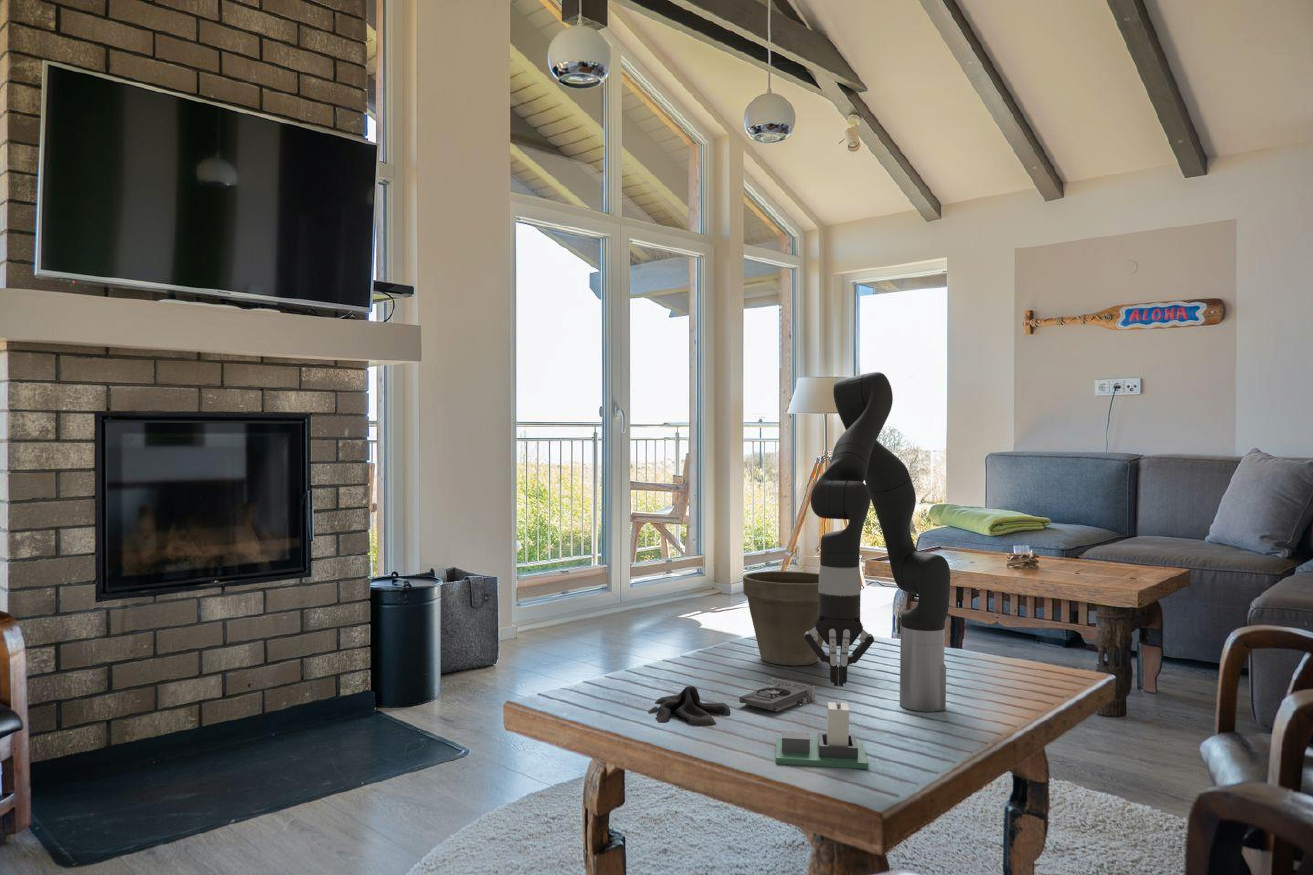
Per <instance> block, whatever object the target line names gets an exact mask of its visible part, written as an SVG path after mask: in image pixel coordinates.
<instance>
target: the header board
mask: <svg viewBox="0 0 1313 875" xmlns="http://www.w3.org/2000/svg"><path fill="white" fill-rule="evenodd" d="M856 738H857V737H856V735H855V734H850V733H849V736H848V746H836V745H827V732H817V739H815V740H813V739H811V737H810V732H808V731H807V732H804V731H788V730H787V731H783V730H782V731H781V738H776V742H775V743H776V744H775V747H776V750H775V764H776V765H792V766H793V765H795V766H808V767H809V766H813V767H814V766H815V767H826V768H827V767H829V768H830V767H831V768H846V769H863V770H864V769H866V770H868V769H869V762H868V758H867V755H866V754H867V753H866V750H865V747H864V742H857V739H856Z"/></svg>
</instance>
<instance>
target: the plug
mask: <svg viewBox="0 0 1313 875" xmlns="http://www.w3.org/2000/svg"><path fill="white" fill-rule="evenodd" d="M826 714H827V715H826V716H827V717H826V719H827V720H826V733H827V745H836V746H848V736H849V734H850V733H849V732H850V730H849V727H850V708H849V704H848V703H844V702H842V703H841V700H840V699H836V700H835V702H829V701H827V713H826Z"/></svg>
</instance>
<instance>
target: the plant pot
mask: <svg viewBox="0 0 1313 875" xmlns="http://www.w3.org/2000/svg"><path fill="white" fill-rule="evenodd" d="M742 583H743V584H742V585H743V587H742V589H743V594H744V596H745V597H746V598H747V603H748V609H749V611H750V612H749V613H750V617H751V620H752V625H753V629H754V634H755V637H756V638H755V639H756V642H757V643H756V644H757V647H758V648H757V649H758V652H759V655H760V658H761V660H762V661H764V662H767V663H768V664H769V663H770V664H775V665H781V666H792V667H794V666H796V667H797V666H808V665H809V666H810V665H812V664H815V663H817V662H818V660H819V657H818V656H817V654H816V653H815V652H814V650H813V649H812V648H811V646H810V645H809V644H808V642H807V641H806V640H805V637H804V634H805V632H807V631H808V632H809V631H810V630H812V629H813V628H814V627H815V623H816V621H817V619H818V594H819V589H818V585H819V573H817V572H806V571H805V572H804V571H792V570H791V571H788V570H782V571H781V570H774V571H773V570H770V571H769V570H768V571H756V572H750V573H745V574H743V576H742ZM817 636H818V640H817V643H818V644H819V645H820V647H821V648H822V647H823V643H824V642H825V641H824V640H823V639H822V637H821V636H820V634H819V633H817Z"/></svg>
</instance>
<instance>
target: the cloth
mask: <svg viewBox="0 0 1313 875" xmlns="http://www.w3.org/2000/svg"><path fill="white" fill-rule="evenodd" d="M700 697H701V696H700V694H699V691H698V688H697V687H695V686H693V685H687V686H686V687H684V689H682V691H681V692H680V693H679V694H674V695H668V696H663V697H662V696H661V697H660V698H658V699H657V700H655V702H654V704H655V705H659V707H658V706H654V707H652V708H650V709H649V710H648V711H647V713H648V714H649V715H650V714H655V713H656V715H655V716H657V717H655V718H654V719H655V720H656V721H657V723H658V724H666V723H668V722H669V721H670V718H671V717H670V715H673V716H677V717H681V718H682V719H685V720H686V721H687V723H688V726H716V725H717V722H716V720H714V718H713V717H712V716H711V714H713V715H719V714H720V716H722V717H730V716H731V709H730V706H729V705H728V704H727V703H725V702H718V703H717V702H715V703H714V702H701V699H700Z"/></svg>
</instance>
